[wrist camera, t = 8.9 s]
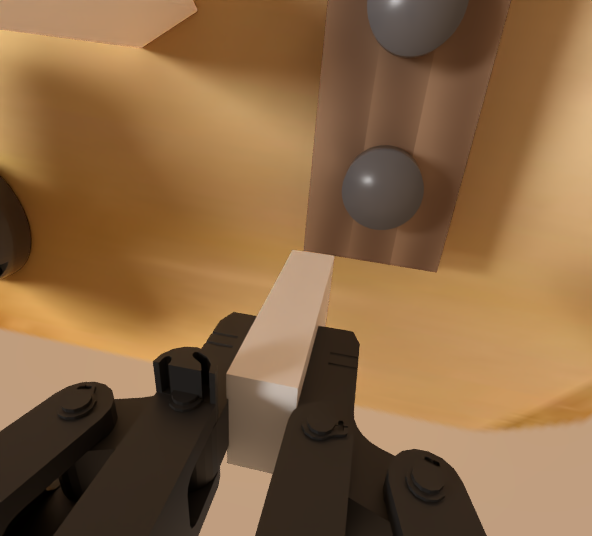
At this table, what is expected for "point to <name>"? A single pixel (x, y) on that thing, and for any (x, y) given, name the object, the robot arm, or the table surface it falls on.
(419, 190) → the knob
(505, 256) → the table surface
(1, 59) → the table surface
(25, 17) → the milk
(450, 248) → the table surface
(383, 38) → the knob middle
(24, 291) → the table surface
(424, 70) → the mount
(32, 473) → the robot arm
